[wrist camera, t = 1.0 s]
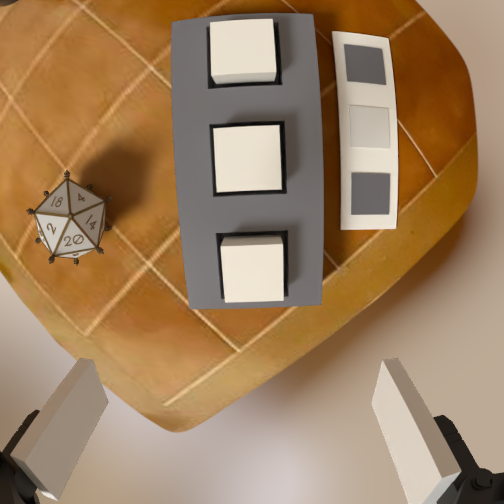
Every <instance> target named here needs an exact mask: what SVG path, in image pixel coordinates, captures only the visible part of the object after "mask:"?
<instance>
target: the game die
mask: <svg viewBox="0 0 504 504" xmlns="http://www.w3.org/2000/svg"><path fill="white" fill-rule="evenodd" d="M64 174H65V176H64V177H65V178H66V179H65V180H64V181H63V182H62V183H61V184H60V185H59V186H58V187H56V188H55V189H54V190H53V191H52V192H51V193H50V194H49V192H48V191H44V195H45V196H46V198H45V199H44V200H43V202H42V203H41V204H40V205H39V206H38V207H37V208H36V209H35V210H33V209H30V208H29V209H28V210H26V211H27V213H28V215H29V214H31V215H32V214H34V217H35V221H36V225H37V229H38V233H39V237H40V238H37V239H36V240H35V243H40V241H42V242H43V244H44V245H45V247H46V248H47V249H48V251H49V252H50V253H51V255H52V256H51V257H49V259H48V260H49V264H51V263H54V260H55V259H54V257H62V258H72V259H74V264H76V265H78V263H79V260H78V259H77V258H79V257H81V256H83V255H85V254H87V253H89V252H91V251H93V250H97V252H98V253H99V254H104V253H103V249H101V248H100V247H99V244H100V241H101V238H102V235H103V232H104V230H105V231H109V230H111V229H110V227H109V226H105V213H106V203H107V202H110V201H111V200H112V199H113V197H112V196H108V197H107V198H106V199H103V198H101V197H100V196H98V195H96V194H95V193H93V192H92V191H90V190H91V188H92V186H91V184H90V185H88V186H87V188H85V187H83V186H81V185H79V184H78V183H76V182H74V181H72V180H70V179H69V176H70V175H69V174H70V173H69V172H68V170H66V172H65V173H64Z"/></svg>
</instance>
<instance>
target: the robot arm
mask: <svg viewBox="0 0 504 504" xmlns="http://www.w3.org/2000/svg"><path fill="white" fill-rule="evenodd" d="M16 1H18V0H0V6H7V5H10V4H12V3H14V2H16ZM107 404H108V399H107V397H106V394H105V391H104V389H103V386H102V383H101V381H100V378H99V375H98V372H97V369H96V367H95V364H94V361H93V360H92V359H85V358H80V359H79V360H78V361H77V363H76V364H75V365H74V367H73V368H72V369H71V370H70V372H69V373H68V374H67V376H66V377H65V379H64V380H63V381H62V382H61V384H60V385H59V386H58V388H57V389H56V390H55V392H54V393H53V394H52V396H51V397H50V398H49V400H48V401H47V402H46V404H45V405H44V407H43V408H42V409H41V411H39V410H35V411H34V412H32V413H31V414H29V415H28V416H27V418H26V419H25V420H24V422H23V423H22V425H21V426H20V427H19V428H18V431H16V433H15V434H14V436H13V437H12V438H11V440H10V441H9V443H8V444H7V446H6V447H5V449H4V450H3V452H2V453H1V451H0V504H40V502H39V499H38V496H37V494H36V493H35V491H36V489H37V488H38V489H39V490H40V491H41V492H42V493H43V494H44V495H45V496H47V497H50V498H52V499H54V500H57V501H59V499H60V497H61V495H62V493H63V490H64V488H65V486H66V484H67V482H68V480H69V478H70V476H71V474H72V472H73V470H74V468H75V466H76V464H77V462H78V460H79V458H80V455H81V454H82V452H83V450H84V448H85V446H86V444H87V442H88V440H89V438H90V436H91V434H92V432H93V430H94V428H95V427H96V425H97V423H98V421H99V419H100V417H101V415H102V414H103V412H104V410H105V408H106V406H107ZM371 404H372V407H373V410H374V412H375V415H376V417H377V420H378V422H379V425H380V427H381V430H382V432H383V435H384V438H385V440H386V443H387V445H388V448H389V451H390V454H391V456H392V459H393V462H394V464H395V467H396V470H397V473H398V475H399V478H400V481H401V484H402V487H403V489H404V492H405V495H406V498H407V501H408V504H435V503H436V502H437V504H504V473H498V474H493V473H492V472H490V471H489V470H487V469H485V468H484V469H483V468H479V466H478V465H477V463H476V462H475V460H474V458H473V456H472V454H471V453H470V451H469V449H468V448H467V446H466V444H465V442H464V440H462V437H461V435H460V434H459V433H458V430H457V429H456V427H455V425H454V424H453V422H452V421H451V420H449V419H448V418H447V417H446V416H444V415H441V416H437V417H432V415H431V413H430V411H429V410H428V408H427V406H426V405H425V403H424V401H423V399H422V398H421V396H420V394H419V393H418V391H417V389H416V387H415V386H414V384H413V382H412V381H411V379H410V378H409V376H408V374H407V372H406V371H405V369H404V367H403V366H402V364H401V363H400V361H399V359H398V358H393V359H386V360H382V364H381V368H380V372H379V376H378V380H377V385H376V389H375V392H374V396H373V400H372V403H371Z"/></svg>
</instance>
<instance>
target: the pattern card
mask: <svg viewBox="0 0 504 504" xmlns="http://www.w3.org/2000/svg"><path fill="white" fill-rule="evenodd" d="M332 41H333V50H334V60H335V71H336V84H337V98H338V114H339V136H340V178H341V207H340V230H359V229H396V222H397V200H398V136H397V115H396V100H395V88H394V78H393V69H392V60H391V53H390V46H389V39H388V38H384V37H378V36H372V35H365V34H357V33H348V32H338V31H332Z"/></svg>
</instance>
